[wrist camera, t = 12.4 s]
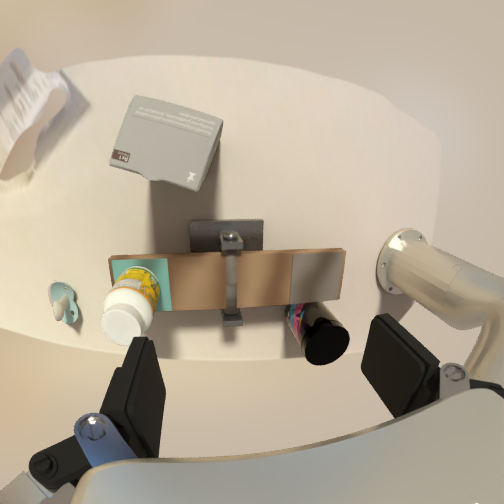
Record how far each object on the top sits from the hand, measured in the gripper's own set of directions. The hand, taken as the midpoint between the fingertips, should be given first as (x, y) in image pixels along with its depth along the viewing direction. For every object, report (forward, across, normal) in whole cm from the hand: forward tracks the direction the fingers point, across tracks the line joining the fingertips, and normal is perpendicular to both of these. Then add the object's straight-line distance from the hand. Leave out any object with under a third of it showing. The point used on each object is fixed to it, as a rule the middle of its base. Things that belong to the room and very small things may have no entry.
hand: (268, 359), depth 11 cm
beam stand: (+29, 0, +6) cm, 29 cm away
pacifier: (+28, +28, +10) cm, 41 cm away
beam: (+23, 0, +6) cm, 24 cm away
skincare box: (+29, +6, -10) cm, 31 cm away
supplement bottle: (+22, +11, +6) cm, 25 cm away
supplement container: (+30, -12, +15) cm, 35 cm away
